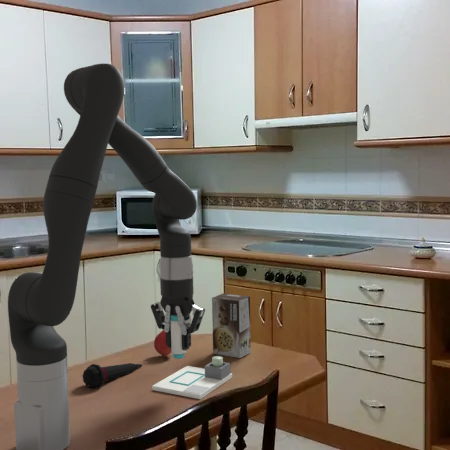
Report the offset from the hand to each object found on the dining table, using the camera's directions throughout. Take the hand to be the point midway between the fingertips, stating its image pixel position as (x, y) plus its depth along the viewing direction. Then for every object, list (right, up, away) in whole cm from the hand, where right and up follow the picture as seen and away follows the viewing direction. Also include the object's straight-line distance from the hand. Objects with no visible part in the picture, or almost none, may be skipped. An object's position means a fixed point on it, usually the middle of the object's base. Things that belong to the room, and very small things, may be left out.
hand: (178, 347), depth 148 cm
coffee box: (+13, -8, +31) cm, 34 cm away
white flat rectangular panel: (+3, -10, +7) cm, 13 cm away
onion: (-6, -8, +28) cm, 30 cm away
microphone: (-16, -10, +11) cm, 22 cm away
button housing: (+9, -9, +10) cm, 16 cm away
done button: (+9, -7, +9) cm, 14 cm away
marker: (0, -2, 0) cm, 2 cm away
